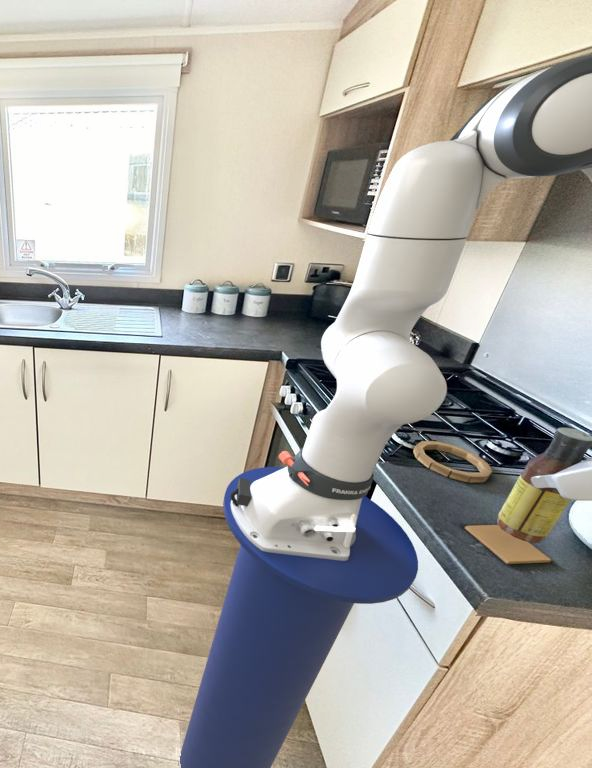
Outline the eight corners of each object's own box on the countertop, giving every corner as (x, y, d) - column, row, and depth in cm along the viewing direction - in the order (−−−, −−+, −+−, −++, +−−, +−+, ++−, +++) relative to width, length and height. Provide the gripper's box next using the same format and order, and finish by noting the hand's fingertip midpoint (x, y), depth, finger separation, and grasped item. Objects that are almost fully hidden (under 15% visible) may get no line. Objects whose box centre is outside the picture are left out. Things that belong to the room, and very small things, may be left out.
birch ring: (447, 483, 88) (451, 477, 87) (399, 446, 100) (402, 441, 99) (504, 481, 89) (508, 475, 88) (450, 445, 101) (453, 440, 100)
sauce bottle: (546, 535, 71) (617, 439, 62) (537, 551, 67) (610, 452, 59) (497, 512, 75) (555, 419, 67) (486, 525, 72) (546, 430, 63)
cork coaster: (507, 564, 69) (509, 561, 69) (464, 528, 76) (465, 525, 76) (550, 562, 70) (551, 559, 70) (503, 526, 77) (505, 524, 77)
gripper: (696, 425, 59) (566, 444, 71) (635, 456, 52) (502, 471, 64) (726, 468, 57) (587, 480, 70) (667, 506, 50) (524, 512, 62)
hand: (546, 476), depth 67 cm, fingers closed on sauce bottle, 6 cm apart
